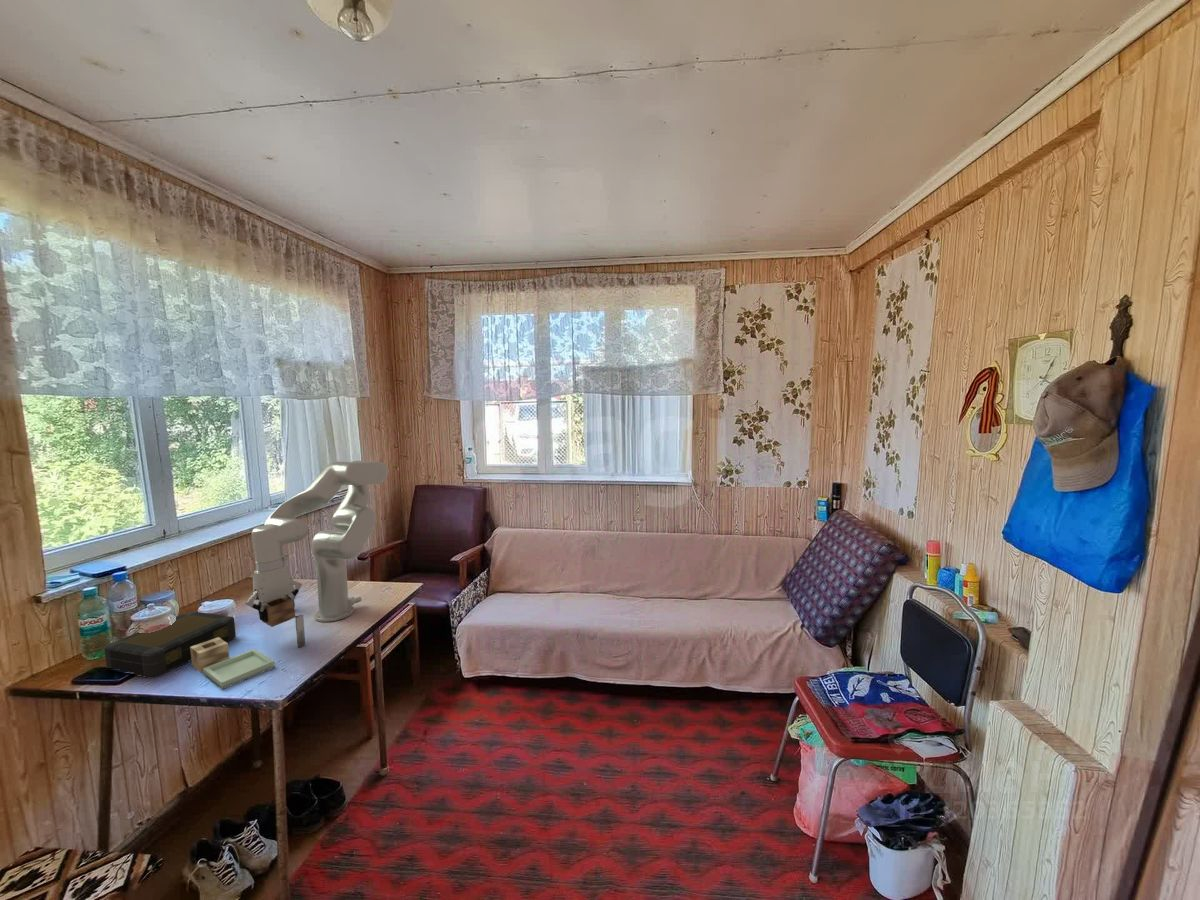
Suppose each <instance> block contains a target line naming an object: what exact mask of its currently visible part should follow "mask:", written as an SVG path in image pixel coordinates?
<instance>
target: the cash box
mask: <svg viewBox="0 0 1200 900" xmlns="http://www.w3.org/2000/svg"><path fill="white" fill-rule="evenodd" d="M175 617H176V621H175V622H174V623H173V624H172V625H170V626H168V627H166V628H163V629H161V630H158V631H155V632H151V633H139V632H140V631H138V632H135V633H133V634H130V635H128V636H125V637H121V638H120V639H118V640H115V641H113V642H110V643H107V644H106V645H105V646H104V647H103V648H104V649H103V650H104V655H105V656H104V657H105V666H106V669H107V668H114V669H120V670H126V671H130V672H134V673H136V674H138V675H141V676H140V677H142V676H145V677H144V678H147V677H155V678H157V677H160V676H162V675H164V674H166V673H168V672H170V671H171V670H173V669H177V668H178V667H180V666H182V665H184V664H186V663H188V662H190V661H191V651H190V647H191V646H194V645H197V644H200V643H203V642H206V641H209V640H212V639H215V638H218V637H219V638H221V639H222V640H224V641H225V642H227V643H229V642H231V641H233V640H234V639H236V637H237V636H236V624H235V618H234V617H233V616H231V615H229V616H228V615H222V614H217V613H216V614H215V613H214V614H213V613H209V612H207V613H206V612H200V611H194V610H193V611H188V612H186V613H182V614H181V615H178V616H175ZM159 675H160V676H159ZM156 676H157V677H156Z"/></svg>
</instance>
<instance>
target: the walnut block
mask: <svg viewBox="0 0 1200 900" xmlns="http://www.w3.org/2000/svg"><path fill="white" fill-rule="evenodd" d="M294 603H295V601H294V602H293V600H292V599H290V598H288V597H286V596H282V597H279V598H276V599H274V600H271V601H268V602H267V604H266V607H265V610H266V611H267V617H268V622H266V623H265V622H264V621H262V620H261V622H262V623H263V624H266V625H267V626H270V627H271V628H273V627H276V626H278V625H280V624H283V623H285V622H287V621H291V620H293V619H295V617H296V616H297V615H296V611H295V607H294Z"/></svg>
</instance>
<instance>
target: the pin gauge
mask: <svg viewBox="0 0 1200 900" xmlns="http://www.w3.org/2000/svg"><path fill="white" fill-rule="evenodd" d="M295 616H296V617H295V618H294V619H295V620H294V621H295V630H296V631H295V632H296V644H297V649H301V648H304V647H306V632H305V622H304V621H305V620H304V619H305V618H304V614H298V615H295Z"/></svg>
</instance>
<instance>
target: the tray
mask: <svg viewBox="0 0 1200 900" xmlns="http://www.w3.org/2000/svg"><path fill="white" fill-rule="evenodd" d="M273 667H275V668H276V666H275V660H274V659H272V658H271V657H269V656H267V655H265V654H264V653H262V652H261V651H259V650H257V649H256V648H253V649H249V650H248V651H245V652H243V653H240V654H236V655H235V656H232V657H229V659H226V660H224V661H221V662H218V663H216V664H213V665H210V666H208V667H205V668H203V672H202V673H203V676H204V677H205V678H207V679H208V680H210V681H211V683H213V684H214V685H216V686H217V687H218V688H219V687H220V688H219V689H220V690H224V689H223V688H225V687H227V688H229V687H231V686H230V685H232V686H234V685H236V684H235V683H237V684H239V683H241V682H243V681H242V680H244V679H246V680H248V679H250V678H249V677H251V678H253V677H255V676H254V675H256V674H258V675H260V674H262V673H261V672H263V671H265V672H267V671H269V670H268V669H270V670H272V669H274V668H273ZM271 668H272V669H271ZM266 670H267V671H266ZM259 673H260V674H259ZM263 673H264V672H263ZM252 676H253V677H252ZM256 676H257V675H256ZM247 678H248V679H247ZM240 681H241V682H240ZM244 681H245V680H244ZM238 682H239V683H238ZM233 684H234V685H233ZM228 686H229V687H228ZM225 689H226V688H225Z"/></svg>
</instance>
